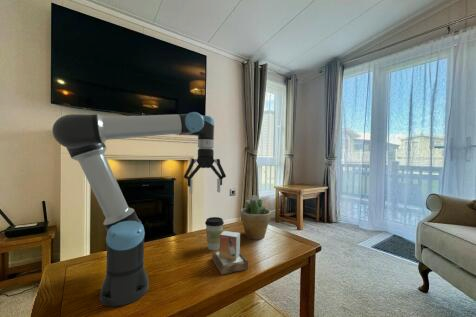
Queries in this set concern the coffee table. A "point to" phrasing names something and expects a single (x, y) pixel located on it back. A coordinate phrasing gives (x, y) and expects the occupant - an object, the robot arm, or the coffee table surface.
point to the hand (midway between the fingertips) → (205, 192)
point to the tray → (230, 263)
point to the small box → (229, 245)
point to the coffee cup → (214, 232)
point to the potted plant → (255, 218)
